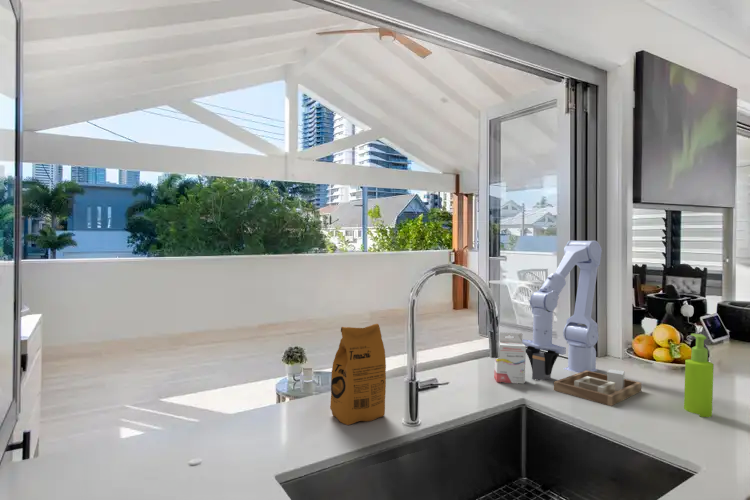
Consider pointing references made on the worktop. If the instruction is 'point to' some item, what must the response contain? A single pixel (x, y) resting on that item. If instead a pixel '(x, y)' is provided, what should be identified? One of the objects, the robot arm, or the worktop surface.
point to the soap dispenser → (699, 380)
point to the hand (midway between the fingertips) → (541, 372)
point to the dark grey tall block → (539, 367)
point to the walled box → (596, 388)
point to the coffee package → (359, 376)
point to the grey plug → (616, 378)
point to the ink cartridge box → (511, 359)
